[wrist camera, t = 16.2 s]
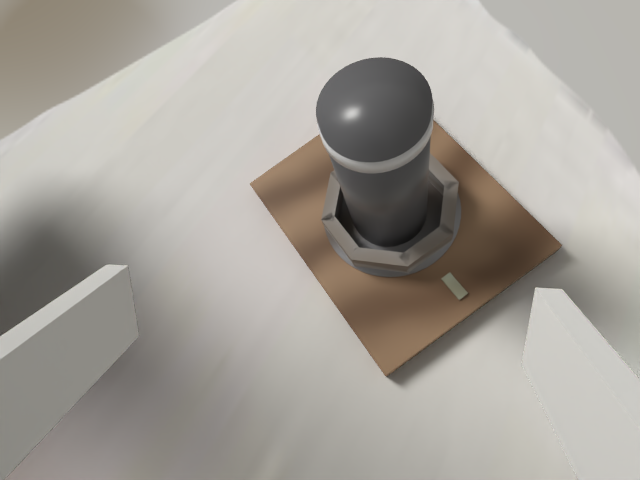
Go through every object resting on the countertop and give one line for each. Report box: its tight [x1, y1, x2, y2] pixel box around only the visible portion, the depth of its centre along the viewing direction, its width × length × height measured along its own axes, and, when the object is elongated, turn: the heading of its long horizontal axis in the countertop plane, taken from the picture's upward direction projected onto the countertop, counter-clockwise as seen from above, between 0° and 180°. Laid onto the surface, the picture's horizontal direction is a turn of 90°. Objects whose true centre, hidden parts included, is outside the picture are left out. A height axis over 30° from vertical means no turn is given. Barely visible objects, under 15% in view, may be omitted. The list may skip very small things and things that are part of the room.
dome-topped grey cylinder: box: [316, 58, 434, 247], centre depth 30 cm, size 6×6×14 cm
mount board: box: [250, 120, 562, 377], centre depth 36 cm, size 20×16×3 cm
